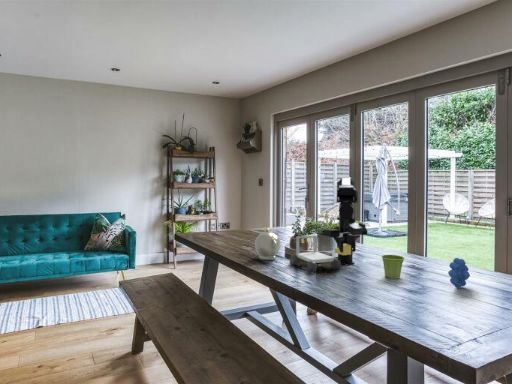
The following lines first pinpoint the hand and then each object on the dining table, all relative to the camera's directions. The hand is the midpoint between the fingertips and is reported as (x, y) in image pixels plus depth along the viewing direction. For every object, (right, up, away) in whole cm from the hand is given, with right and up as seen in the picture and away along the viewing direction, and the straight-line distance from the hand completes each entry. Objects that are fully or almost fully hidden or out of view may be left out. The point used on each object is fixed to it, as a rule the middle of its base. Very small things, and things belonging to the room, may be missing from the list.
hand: (345, 252), depth 159 cm
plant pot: (+20, -11, +1) cm, 23 cm away
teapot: (-32, -10, +36) cm, 49 cm away
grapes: (+40, -12, -17) cm, 45 cm away
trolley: (-10, -10, +20) cm, 24 cm away
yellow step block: (-1, -1, +2) cm, 2 cm away
